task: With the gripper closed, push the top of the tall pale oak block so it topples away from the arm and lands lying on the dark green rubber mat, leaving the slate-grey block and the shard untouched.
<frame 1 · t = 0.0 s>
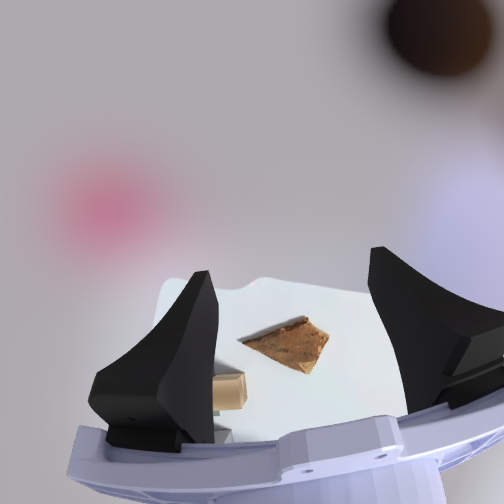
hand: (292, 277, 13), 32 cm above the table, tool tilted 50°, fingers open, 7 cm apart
shard: (290, 352, 44), on the table
oak block: (232, 386, 43), on the table
grey block: (220, 441, 40), on the table
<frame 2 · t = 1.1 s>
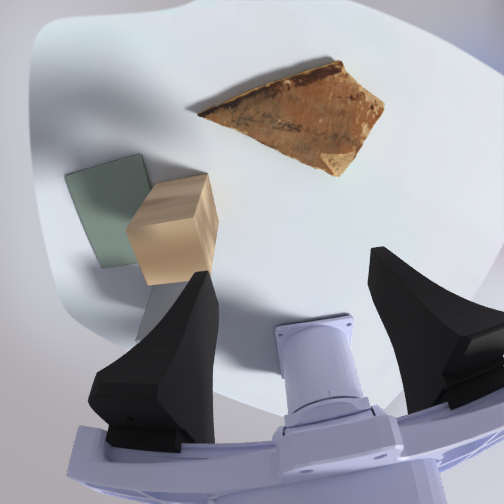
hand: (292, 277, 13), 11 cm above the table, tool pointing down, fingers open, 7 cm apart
shard: (300, 127, 20), on the table
mat: (118, 216, 23), on the table
oak block: (187, 202, 23), on the table
grey block: (181, 296, 28), on the table
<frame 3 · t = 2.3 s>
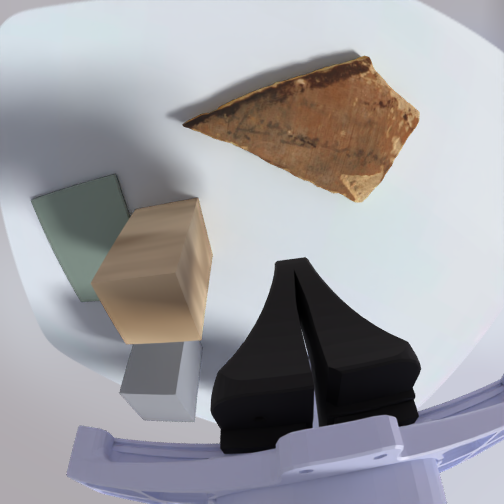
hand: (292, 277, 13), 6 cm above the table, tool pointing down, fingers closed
shard: (314, 140, 16), on the table
mat: (93, 246, 19), on the table
oak block: (174, 232, 19), on the table
grey block: (172, 333, 24), on the table
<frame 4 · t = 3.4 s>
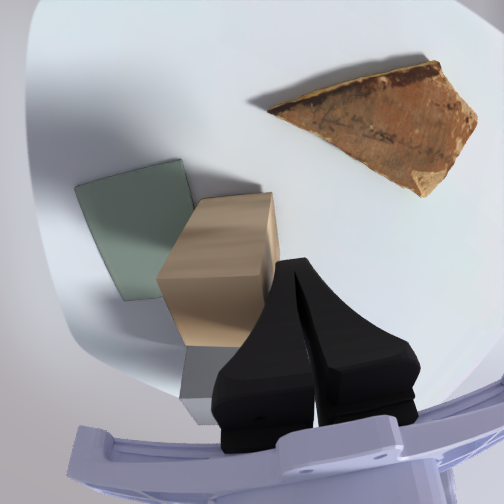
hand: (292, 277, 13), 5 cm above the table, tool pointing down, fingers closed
shard: (384, 136, 16), on the table
mat: (146, 239, 18), on the table
oak block: (241, 226, 18), on the table, tilted 8°
grey block: (223, 332, 23), on the table
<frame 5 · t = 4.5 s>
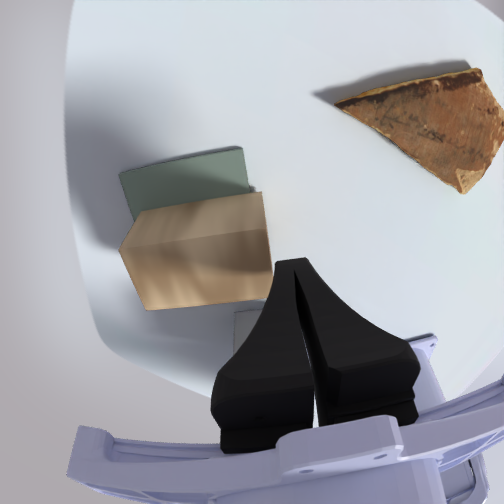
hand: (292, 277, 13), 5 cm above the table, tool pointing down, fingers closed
shard: (430, 135, 15), on the table
mat: (196, 231, 18), on the table
oak block: (268, 242, 16), point 2 cm above the table, tilted 90°, touching mat
grey block: (265, 327, 23), on the table
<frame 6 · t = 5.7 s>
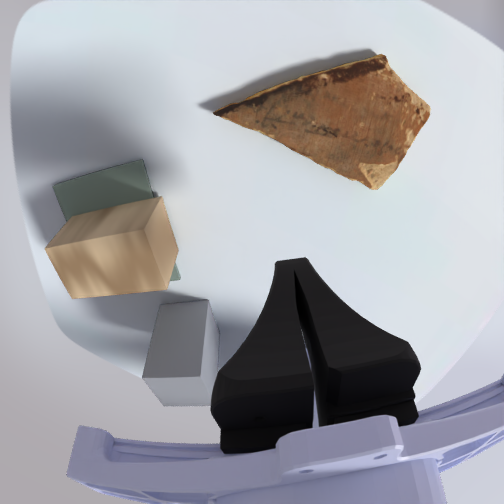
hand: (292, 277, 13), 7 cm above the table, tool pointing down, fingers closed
shard: (333, 131, 17), on the table
mat: (116, 232, 20), on the table
oak block: (163, 241, 18), point 2 cm above the table, tilted 90°, touching mat
grey block: (190, 319, 25), on the table
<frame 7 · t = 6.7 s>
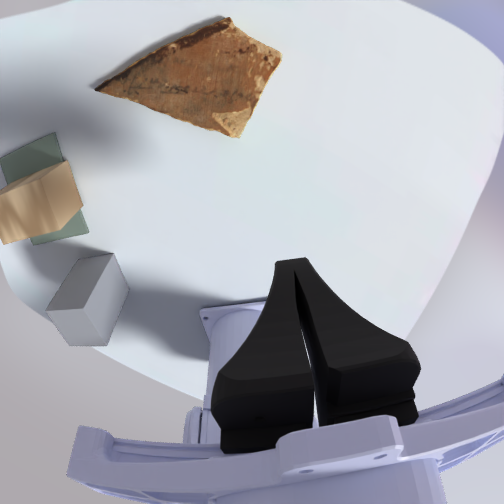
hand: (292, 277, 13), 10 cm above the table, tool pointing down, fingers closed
shard: (197, 91, 19), on the table
mat: (41, 193, 21), on the table
oak block: (63, 193, 19), point 2 cm above the table, tilted 90°, touching mat
grey block: (103, 274, 26), on the table
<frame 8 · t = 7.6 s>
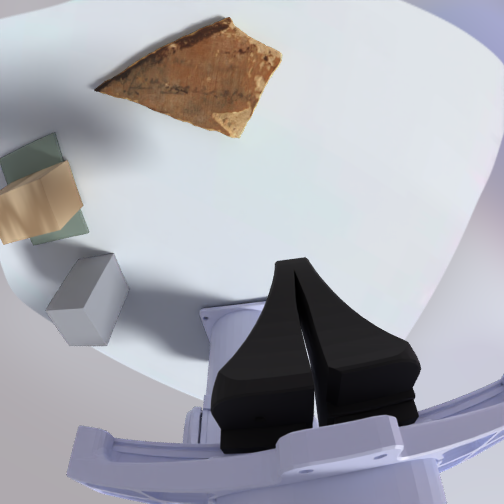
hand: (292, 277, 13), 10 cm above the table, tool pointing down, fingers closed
shard: (197, 91, 19), on the table
mat: (41, 193, 21), on the table
oak block: (63, 193, 19), point 2 cm above the table, tilted 90°, touching mat
grey block: (103, 274, 26), on the table
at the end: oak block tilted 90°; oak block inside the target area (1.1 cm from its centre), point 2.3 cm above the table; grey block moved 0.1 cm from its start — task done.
